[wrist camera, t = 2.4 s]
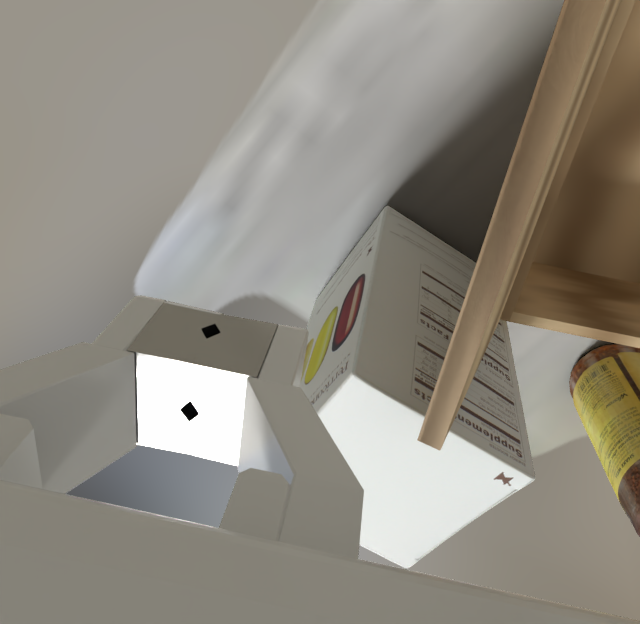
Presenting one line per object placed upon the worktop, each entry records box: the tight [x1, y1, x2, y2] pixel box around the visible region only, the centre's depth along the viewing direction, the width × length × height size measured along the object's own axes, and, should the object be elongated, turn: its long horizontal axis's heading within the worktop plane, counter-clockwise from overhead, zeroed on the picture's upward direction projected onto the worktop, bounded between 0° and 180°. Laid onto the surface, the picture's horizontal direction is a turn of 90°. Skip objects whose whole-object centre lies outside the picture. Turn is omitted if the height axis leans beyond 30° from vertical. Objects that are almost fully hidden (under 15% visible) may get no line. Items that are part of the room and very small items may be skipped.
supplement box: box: [300, 206, 535, 569], centre depth 31 cm, size 10×9×17 cm
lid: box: [417, 0, 621, 450], centre depth 20 cm, size 11×17×1 cm
